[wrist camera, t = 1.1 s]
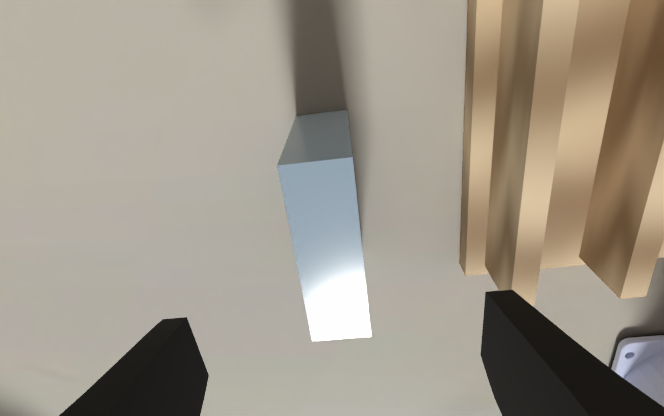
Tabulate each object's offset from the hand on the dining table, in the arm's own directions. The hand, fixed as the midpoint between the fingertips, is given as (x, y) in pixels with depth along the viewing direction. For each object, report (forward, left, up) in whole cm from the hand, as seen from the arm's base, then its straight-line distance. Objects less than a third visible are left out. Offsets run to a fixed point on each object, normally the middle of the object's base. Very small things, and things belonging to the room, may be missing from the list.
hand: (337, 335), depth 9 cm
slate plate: (0, 0, -10) cm, 10 cm away
